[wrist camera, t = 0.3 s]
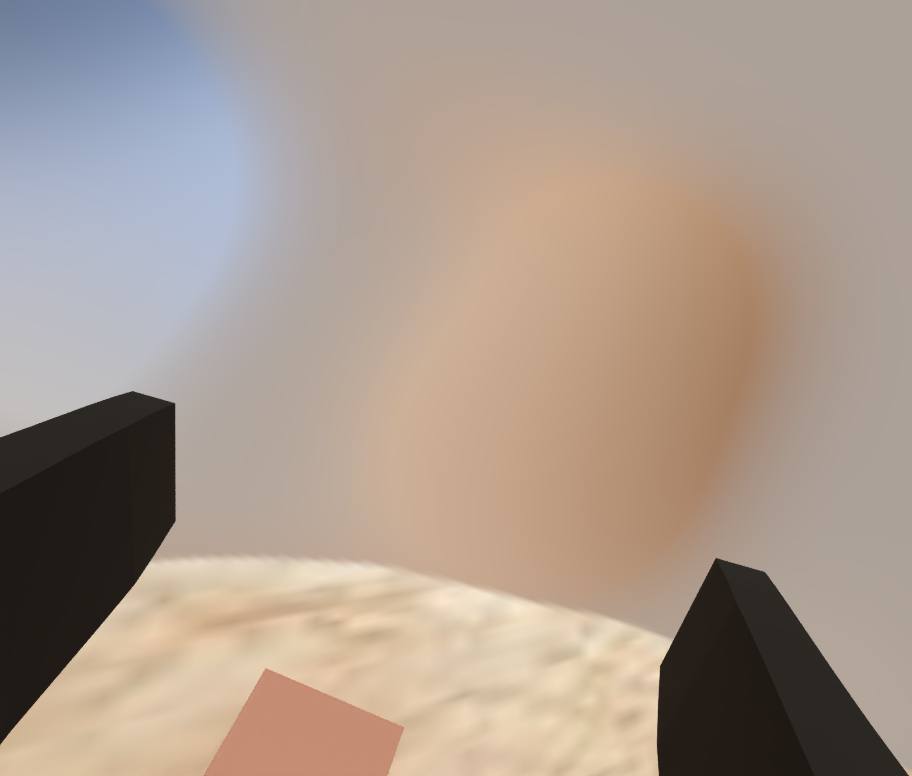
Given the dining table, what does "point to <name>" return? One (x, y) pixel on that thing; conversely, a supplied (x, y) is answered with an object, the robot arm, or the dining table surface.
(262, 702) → the cube
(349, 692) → the dining table surface
